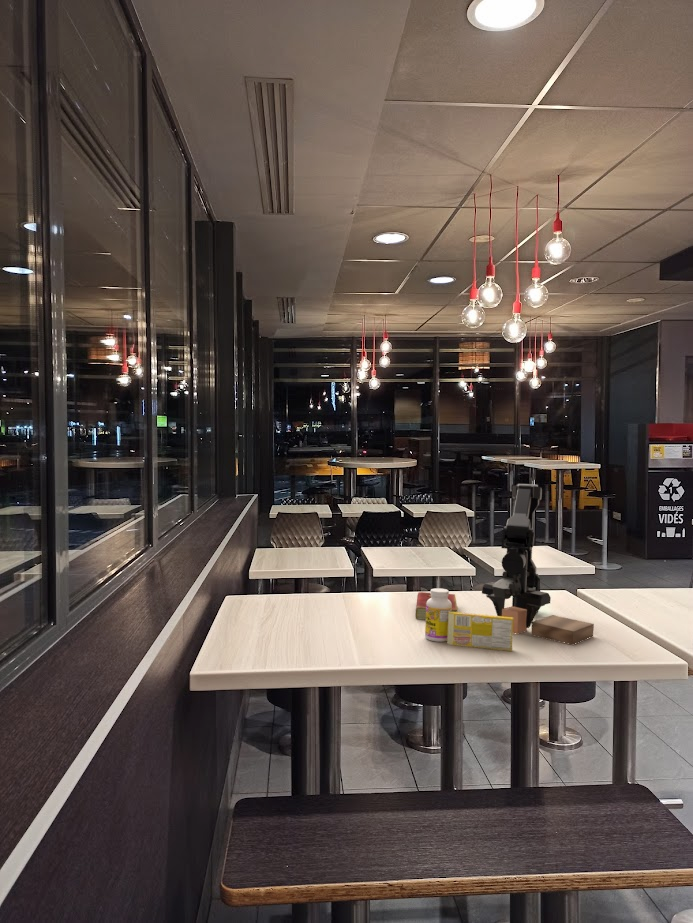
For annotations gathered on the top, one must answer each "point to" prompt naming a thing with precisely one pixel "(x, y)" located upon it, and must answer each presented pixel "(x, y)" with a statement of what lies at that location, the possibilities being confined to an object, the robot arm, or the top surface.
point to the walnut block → (562, 629)
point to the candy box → (480, 631)
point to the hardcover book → (422, 601)
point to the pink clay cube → (516, 618)
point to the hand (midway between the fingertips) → (513, 624)
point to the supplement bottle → (437, 615)
